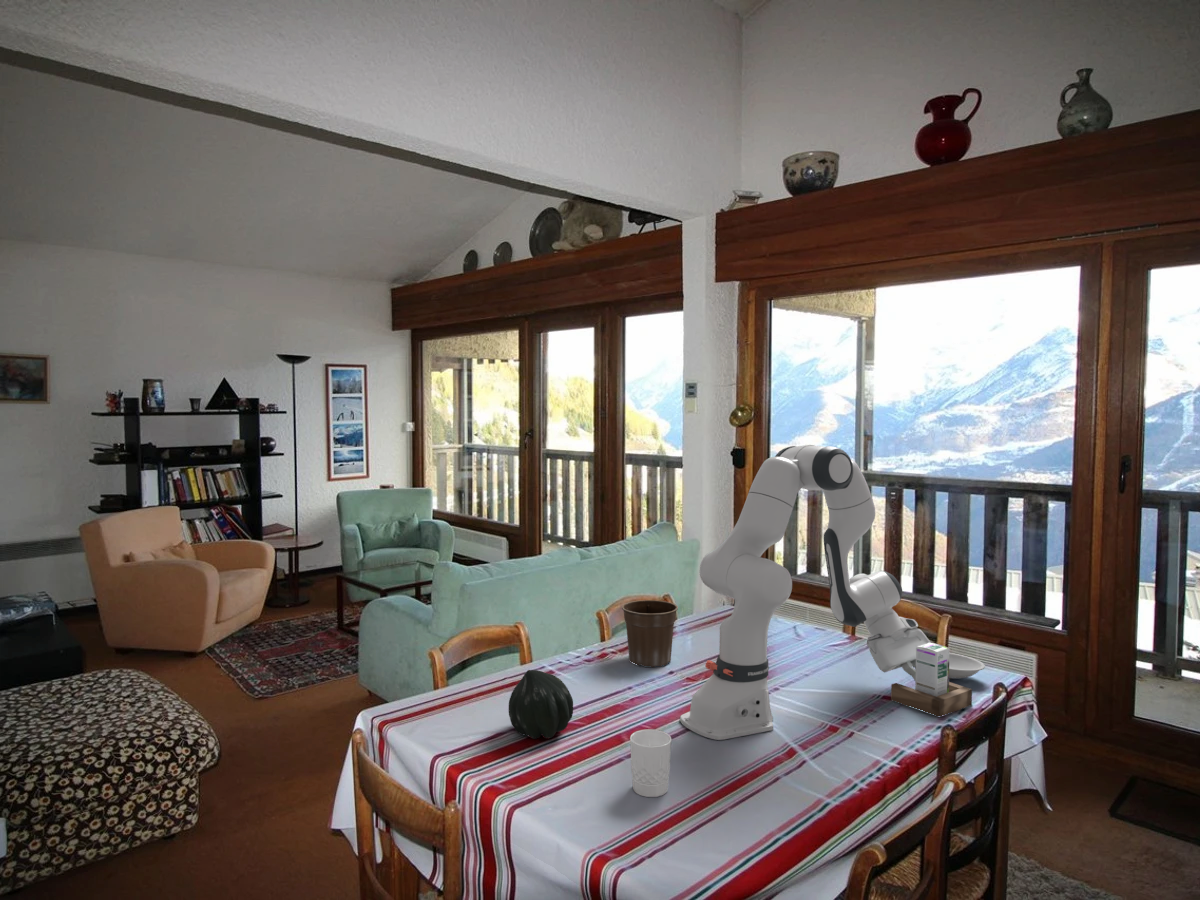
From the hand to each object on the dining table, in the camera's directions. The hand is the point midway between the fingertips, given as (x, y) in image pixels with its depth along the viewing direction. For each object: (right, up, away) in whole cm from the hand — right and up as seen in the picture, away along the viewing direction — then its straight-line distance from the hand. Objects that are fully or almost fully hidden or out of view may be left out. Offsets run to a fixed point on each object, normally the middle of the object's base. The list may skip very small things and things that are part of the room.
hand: (921, 679), depth 189 cm
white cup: (-72, -7, -46) cm, 86 cm away
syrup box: (+1, -5, -3) cm, 6 cm away
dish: (+14, -5, +15) cm, 21 cm away
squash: (-95, -6, -20) cm, 97 cm away
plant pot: (-67, -4, +28) cm, 73 cm away
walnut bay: (+1, -5, -2) cm, 6 cm away
